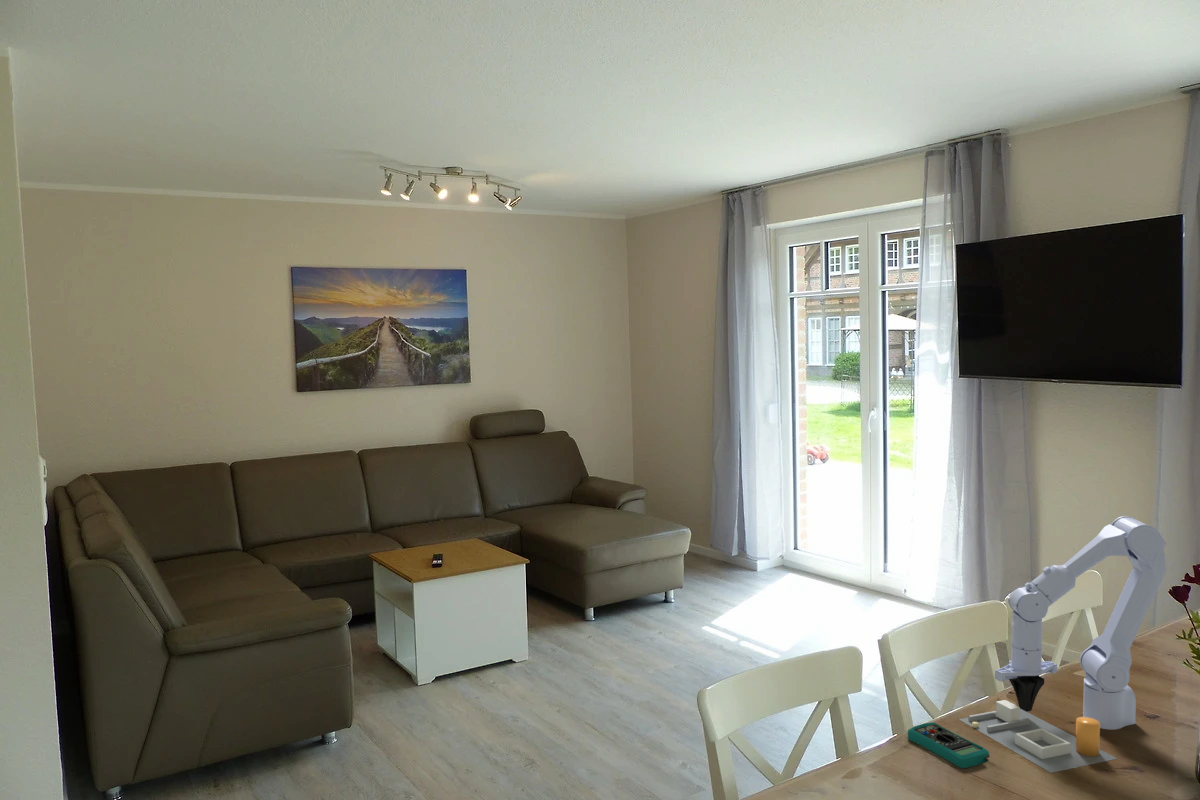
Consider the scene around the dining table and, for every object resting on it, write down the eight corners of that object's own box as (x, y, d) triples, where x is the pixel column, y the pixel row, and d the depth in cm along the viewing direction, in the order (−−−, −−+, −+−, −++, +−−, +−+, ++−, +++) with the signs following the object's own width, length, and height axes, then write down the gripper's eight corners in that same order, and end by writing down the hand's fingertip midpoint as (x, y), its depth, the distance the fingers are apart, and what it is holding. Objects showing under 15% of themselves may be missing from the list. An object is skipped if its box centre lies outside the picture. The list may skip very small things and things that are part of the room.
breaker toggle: (1005, 714, 182) (1005, 699, 182) (1019, 722, 178) (1019, 707, 178) (995, 716, 181) (996, 701, 181) (1010, 724, 178) (1010, 709, 177)
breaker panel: (1019, 713, 186) (1019, 699, 186) (1117, 764, 163) (1117, 748, 163) (958, 724, 181) (958, 710, 181) (1051, 779, 158) (1051, 762, 158)
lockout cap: (1086, 745, 169) (1087, 715, 168) (1104, 754, 165) (1105, 724, 164) (1070, 748, 167) (1071, 718, 167) (1088, 758, 164) (1088, 727, 163)
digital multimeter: (931, 732, 179) (931, 718, 179) (990, 763, 165) (991, 748, 165) (904, 740, 176) (904, 725, 176) (962, 772, 162) (962, 757, 162)
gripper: (1038, 636, 186) (1037, 697, 187) (984, 644, 182) (983, 706, 183) (1065, 646, 180) (1064, 710, 181) (1009, 655, 175) (1008, 720, 176)
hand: (1025, 709), depth 181 cm, fingers closed
